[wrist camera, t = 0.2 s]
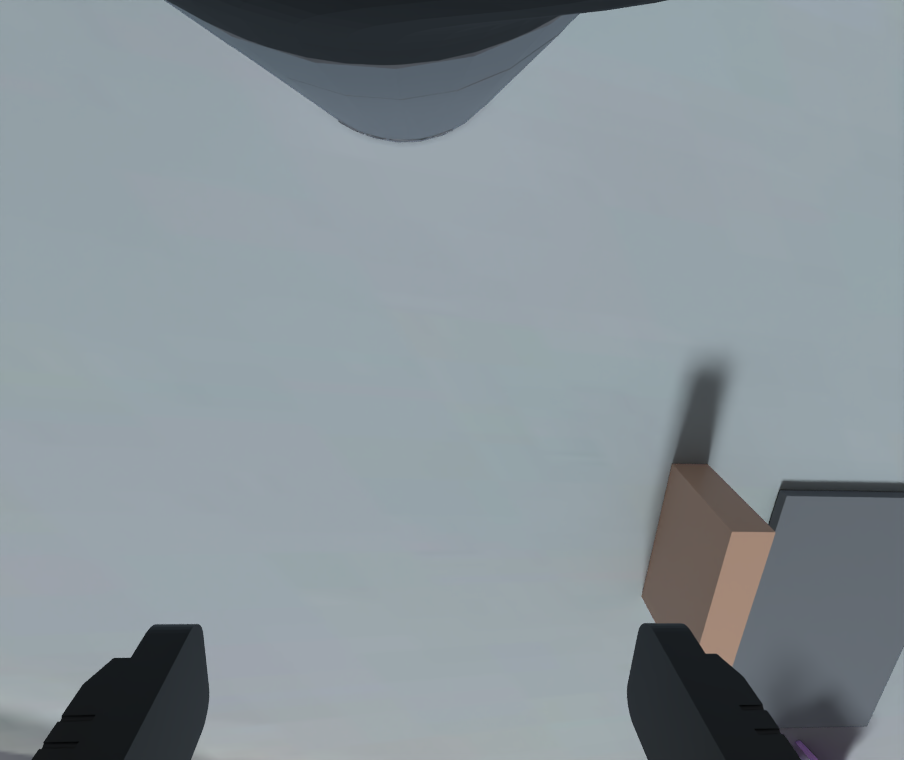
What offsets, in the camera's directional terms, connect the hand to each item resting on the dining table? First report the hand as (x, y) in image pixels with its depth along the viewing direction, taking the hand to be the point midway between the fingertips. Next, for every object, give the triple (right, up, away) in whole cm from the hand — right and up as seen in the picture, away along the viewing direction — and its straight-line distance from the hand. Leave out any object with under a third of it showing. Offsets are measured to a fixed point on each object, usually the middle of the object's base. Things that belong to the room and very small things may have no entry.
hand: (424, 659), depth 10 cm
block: (+13, -3, +21) cm, 25 cm away
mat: (+24, -9, +24) cm, 35 cm away
